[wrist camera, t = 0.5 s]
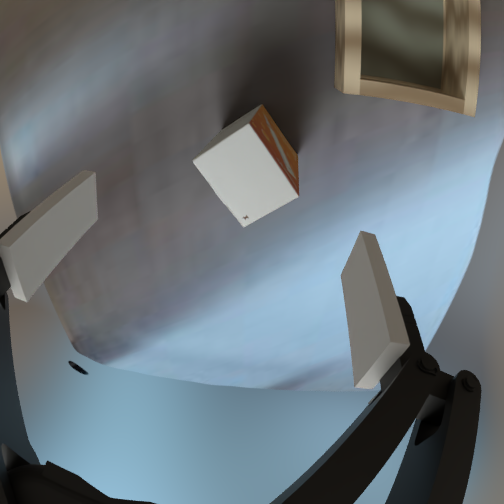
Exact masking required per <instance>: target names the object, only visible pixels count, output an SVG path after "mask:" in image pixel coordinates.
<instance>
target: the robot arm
mask: <svg viewBox="0 0 504 504" xmlns="http://www.w3.org/2000/svg"><path fill="white" fill-rule="evenodd" d="M97 220H98V213H97V195H96V172H91V171H85V170H83V171H82V172H80V173H79V174H78V175H76V176H75V177H74V178H72V179H71V180H70V181H68V182H67V183H66V184H64V185H63V186H62V187H60V188H59V189H58V190H57V191H55V192H54V193H53V194H52V195H50V196H49V197H48V198H47V199H45V200H44V201H43V202H42V203H41V204H39V205H38V206H37V207H36V208H35V209H33V210H32V211H30V212H28V213H26V214H24V215H22V216H20V217H19V218H18V219H17V220H16V221H15V222H14V223H13V224H11V225H10V226H9V227H8V229H6V230H5V231H3V232H2V233H1V234H0V504H155V503H152V502H144V501H133V500H123V499H115V498H110V497H108V496H106V495H105V494H103V493H102V492H100V491H99V490H97V489H96V488H95V487H93V486H92V485H90V484H89V483H87V482H86V481H85V480H83V479H82V478H81V477H79V476H78V475H76V474H74V473H72V472H70V471H67V470H65V469H63V468H61V467H59V466H57V465H55V464H53V463H51V462H49V461H47V462H46V465H40V462H39V460H38V457H37V455H36V453H35V452H34V450H33V448H32V446H31V445H30V442H29V440H28V436H27V433H26V429H25V425H24V420H23V417H22V411H21V406H20V401H19V396H18V391H17V385H16V379H15V372H14V365H13V357H12V349H11V337H10V324H9V304H8V295H7V293H6V291H7V290H8V289H9V288H10V287H11V288H12V291H13V294H14V297H16V298H18V299H20V300H23V301H25V302H28V301H29V299H30V298H31V296H32V295H33V294H34V293H35V291H36V290H37V289H38V288H39V286H40V285H41V284H42V283H43V281H44V280H45V279H46V278H47V276H48V275H49V274H50V273H51V272H52V270H53V269H54V268H55V267H56V266H57V264H58V263H59V262H60V261H61V260H62V258H63V257H64V256H65V255H66V254H67V253H68V252H69V250H70V249H71V248H72V247H73V246H74V245H75V244H76V242H77V241H78V240H79V239H80V238H81V237H82V236H83V235H84V234H85V233H86V231H87V230H88V229H89V228H90V227H91V226H92V225H93V224H94V223H95V222H96V221H97ZM341 280H342V287H343V293H344V300H345V307H346V315H347V322H348V330H349V339H350V347H351V356H352V366H353V376H354V387H356V388H366V389H373V388H374V387H375V386H376V385H377V383H378V382H379V381H380V384H381V390H380V391H379V392H378V394H377V395H376V396H375V397H374V398H373V399H372V400H371V401H370V402H369V403H368V404H369V405H368V406H367V407H366V408H365V409H364V411H363V412H362V413H361V414H360V415H359V416H358V418H357V419H356V420H355V421H354V422H353V423H352V424H351V426H350V427H349V428H348V429H347V430H346V431H345V432H344V433H343V435H342V436H341V437H340V438H339V439H338V440H337V441H336V442H335V443H334V444H333V445H332V446H331V447H330V448H329V449H328V450H327V451H326V452H325V453H324V455H322V456H321V458H319V459H318V460H317V461H316V462H315V463H314V464H313V465H312V466H311V467H310V468H309V469H308V470H307V471H306V472H305V473H304V474H303V475H302V476H301V477H300V478H299V479H298V480H296V481H295V482H294V483H293V484H292V485H291V486H290V487H289V488H288V489H286V490H285V491H284V492H283V493H282V494H281V495H279V496H278V497H277V498H276V499H275V500H274V501H272V502H271V503H270V504H353V503H354V502H355V501H356V500H357V499H358V497H359V496H360V495H361V494H362V493H363V492H364V490H365V489H366V488H367V487H368V485H369V484H370V483H371V482H372V480H373V479H374V478H375V477H376V475H377V474H378V473H379V471H380V470H381V469H382V467H383V466H384V465H385V463H386V462H387V460H388V459H389V458H390V456H391V455H392V453H393V452H394V451H395V449H396V448H397V446H398V445H399V443H400V442H401V440H402V439H403V437H404V436H405V434H406V433H407V431H408V429H409V428H410V426H411V425H412V423H413V422H414V420H415V418H416V421H415V424H414V427H413V431H412V434H411V437H410V440H409V443H408V446H407V449H406V452H405V455H404V458H403V460H402V463H401V466H400V469H399V471H398V474H397V476H396V479H395V482H394V484H393V487H392V489H391V491H390V494H389V496H388V499H387V501H386V503H385V504H462V503H463V499H464V496H465V492H466V488H467V484H468V479H469V474H470V470H471V465H472V460H473V454H474V448H475V442H476V436H477V429H478V421H479V412H480V401H481V385H480V382H479V380H478V379H477V378H476V376H475V375H474V374H473V373H471V372H470V371H467V370H461V371H460V372H459V373H458V374H457V375H456V376H455V377H454V376H451V375H449V374H447V373H444V372H442V371H440V368H439V365H438V363H437V361H436V360H435V359H434V358H433V357H432V356H431V355H430V354H428V353H426V352H425V350H424V347H423V343H422V340H421V336H420V333H419V330H418V327H417V326H416V325H417V323H416V320H415V318H414V314H413V311H412V308H411V306H410V305H409V303H408V302H407V301H406V299H405V298H404V297H399V296H396V294H395V291H394V288H393V285H392V282H391V279H390V276H389V273H388V270H387V267H386V264H385V261H384V258H383V255H382V252H381V250H380V247H379V244H378V241H377V239H376V236H375V235H374V234H371V233H367V232H364V231H360V233H359V236H358V238H357V240H356V243H355V245H354V247H353V249H352V252H351V254H350V256H349V258H348V261H347V263H346V265H345V267H344V269H343V271H342V274H341Z"/></svg>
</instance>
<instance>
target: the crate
mask: <svg viewBox="0 0 504 504" xmlns="http://www.w3.org/2000/svg"><path fill="white" fill-rule="evenodd" d="M335 10H336V41H335V84H334V88H336V89H338V90H339V91H341V92H342V93H347V94H356V95H364V96H372V97H379V98H386V99H393V100H399V101H405V102H410V103H416V104H421V105H426V106H431V107H435V108H440V109H444V110H449V111H453V112H457V113H461V114H465V115H469V116H472V117H475V111H476V103H477V94H478V84H479V71H480V52H481V10H480V0H335Z"/></svg>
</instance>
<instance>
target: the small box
mask: <svg viewBox="0 0 504 504" xmlns="http://www.w3.org/2000/svg"><path fill="white" fill-rule="evenodd" d="M193 163H194V164H195V166H196V167H197V168H198V170H199V171H200V172H201V174H202V175H203V176H204V178H205V179H206V180H207V182H208V183H209V184H210V186H211V187H212V188H213V190H214V191H215V193H216V194H217V195H218V197H219V198H220V199H221V200H222V202H223V203H224V204H225V205H226V206H227V207H228V209H229V210H230V211H231V212H232V214H233V215H234V216H235V217H236V219H237V220H238V221H239V222H240V224H241V225H242V226H243V227H246V226H247V225H249V224H251V223H252V222H254V221H256V220H257V219H259V218H261V217H263V216H265V215H266V214H268V213H270V212H272V211H274V210H275V209H277V208H279V207H281V206H283V205H285V204H286V203H288V202H290V201H292V200H294V199H295V198H297V197H299V177H298V155H297V154H296V152H295V151H294V150H293V148H292V147H291V145H290V144H289V143H288V141H287V140H286V138H285V137H284V135H283V134H282V132H281V131H280V129H279V128H278V126H277V125H276V123H275V122H274V121H273V119H272V118H271V116H270V115H269V113H268V112H267V110H266V109H265V107H264V106H263V105H262V104H261V105H259V106H258V107H256V108H255V109H253V110H252V111H250V112H248V113H247V114H245V115H244V116H242V117H241V118H239V119H238V120H236V121H235V122H233V123H232V124H230V125H229V126H227V127H226V128H224V129H223V130H221V131H220V132H219V133H218V134H217V135H216V136H215V137H214V138H213V139H212V140H211V141H210V143H209V144H208V145H207V146H206V147H205V148H204V149H203V150H202V151H201V152H200V153H199V154H198V155H197V156H196V157H195V158H194V159H193Z"/></svg>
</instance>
